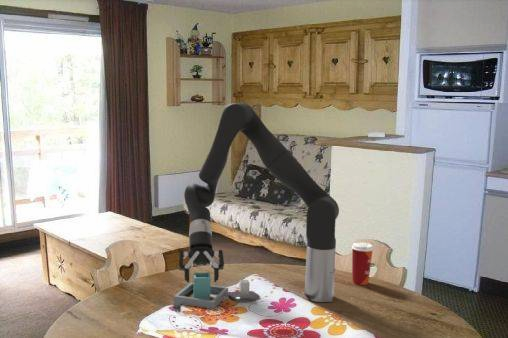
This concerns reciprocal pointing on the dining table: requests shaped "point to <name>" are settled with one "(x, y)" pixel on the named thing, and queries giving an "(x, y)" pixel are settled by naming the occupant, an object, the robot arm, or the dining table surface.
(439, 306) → the dining table surface
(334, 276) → the robot arm
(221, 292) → the charcoal tray
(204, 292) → the teal sleeve
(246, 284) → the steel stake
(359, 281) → the paper cup
